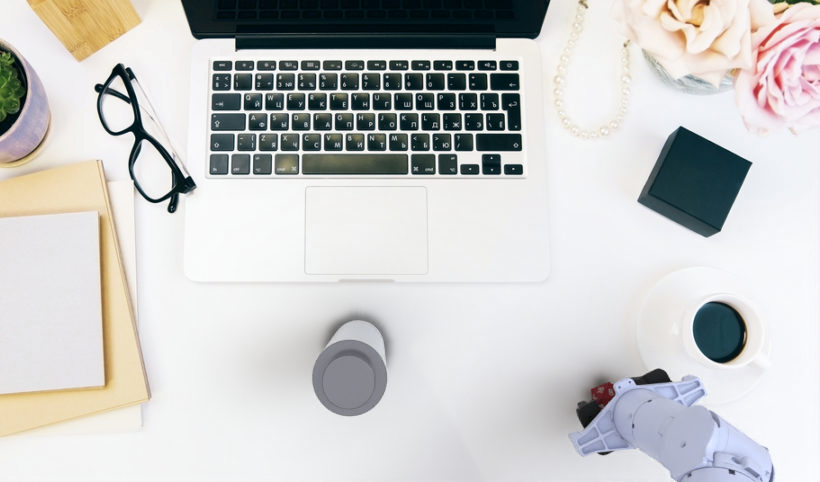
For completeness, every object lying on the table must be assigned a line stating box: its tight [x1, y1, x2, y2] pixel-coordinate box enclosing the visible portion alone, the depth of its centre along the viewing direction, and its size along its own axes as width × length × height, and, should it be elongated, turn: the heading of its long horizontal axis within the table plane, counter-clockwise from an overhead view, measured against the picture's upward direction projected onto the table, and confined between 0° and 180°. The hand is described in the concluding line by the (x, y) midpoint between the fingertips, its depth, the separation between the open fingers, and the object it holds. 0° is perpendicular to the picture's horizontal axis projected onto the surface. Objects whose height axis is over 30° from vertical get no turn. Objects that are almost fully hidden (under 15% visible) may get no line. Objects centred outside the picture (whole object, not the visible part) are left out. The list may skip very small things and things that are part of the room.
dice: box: [590, 381, 616, 411], centre depth 69 cm, size 4×4×4 cm
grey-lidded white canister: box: [311, 319, 388, 417], centre depth 60 cm, size 6×6×24 cm
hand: (606, 398), depth 70 cm, fingers open, 5 cm apart
